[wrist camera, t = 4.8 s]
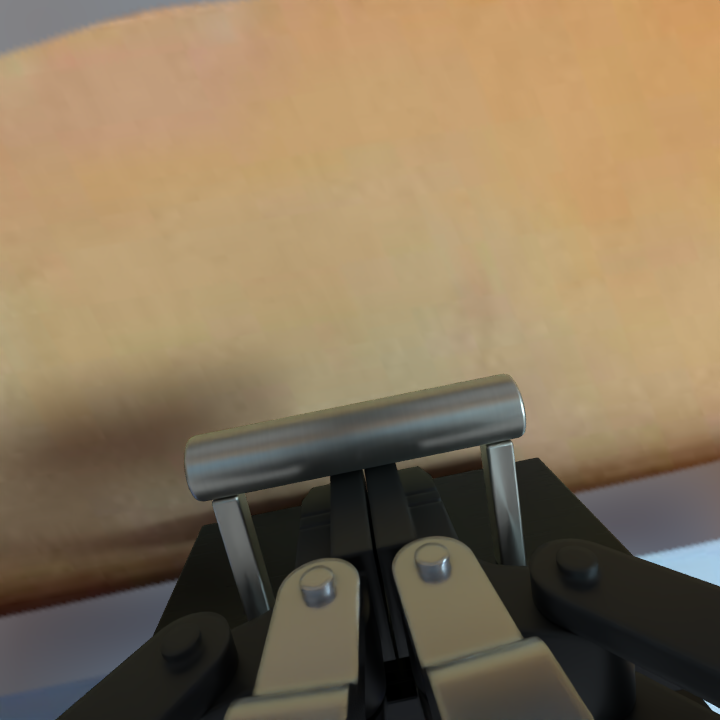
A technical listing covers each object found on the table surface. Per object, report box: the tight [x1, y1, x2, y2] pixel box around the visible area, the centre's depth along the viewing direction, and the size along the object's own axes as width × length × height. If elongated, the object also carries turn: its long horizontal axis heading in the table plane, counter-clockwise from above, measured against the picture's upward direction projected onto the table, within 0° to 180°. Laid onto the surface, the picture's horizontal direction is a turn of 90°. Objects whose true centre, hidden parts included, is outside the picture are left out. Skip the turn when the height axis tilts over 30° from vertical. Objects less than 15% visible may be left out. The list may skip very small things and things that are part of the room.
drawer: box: [153, 374, 684, 720], centre depth 13 cm, size 17×11×7 cm, turn 10°
